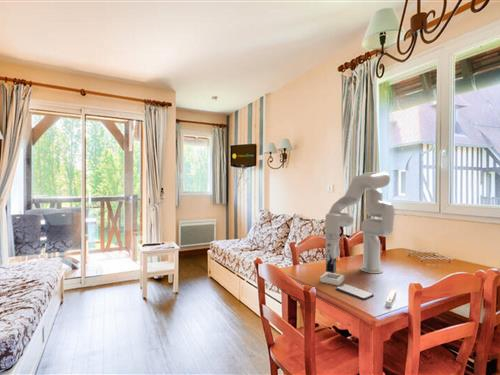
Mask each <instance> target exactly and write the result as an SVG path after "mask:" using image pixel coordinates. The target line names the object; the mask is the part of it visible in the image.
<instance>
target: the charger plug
mask: <svg viewBox="0 0 500 375" xmlns="http://www.w3.org/2000/svg"><path fill="white" fill-rule="evenodd" d="M330 260H331V259H330ZM325 264H326V265H325V273H326V272H329V273H335V274H336V272H337V259H336V260H334V259H333V272H331V271H327V260H326V261H325Z"/></svg>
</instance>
